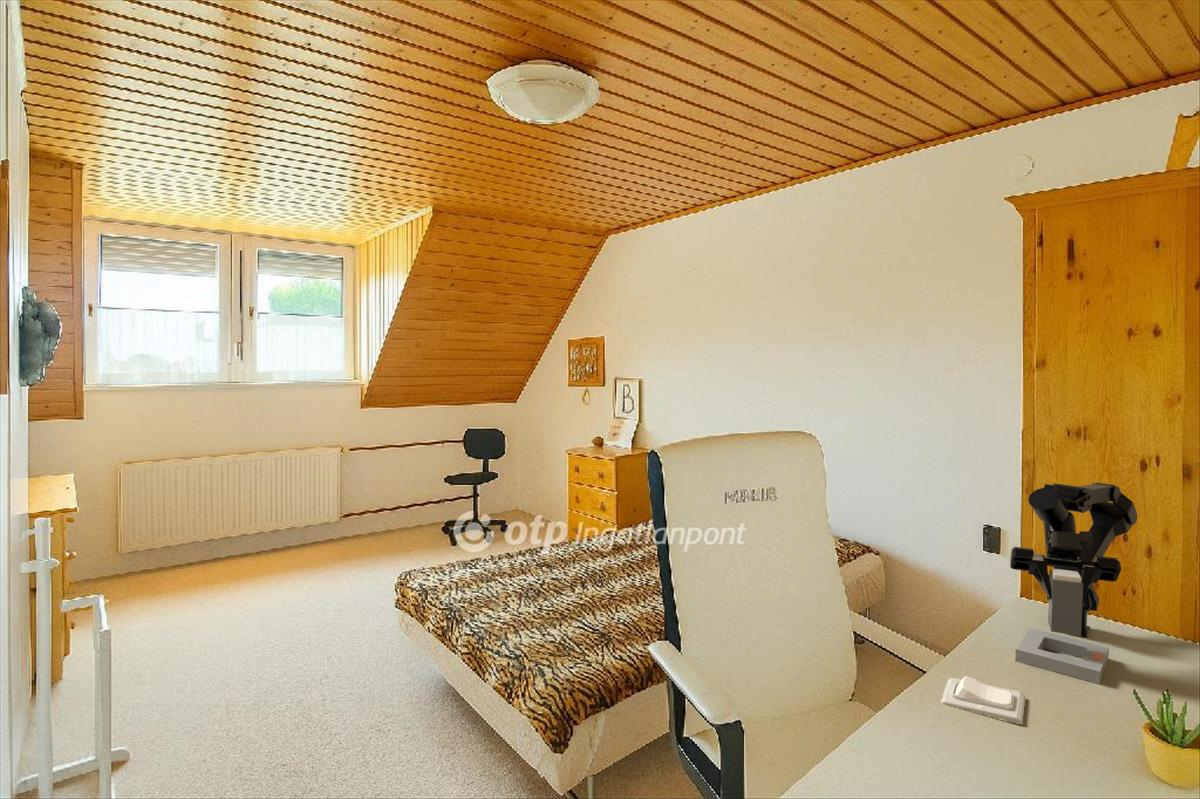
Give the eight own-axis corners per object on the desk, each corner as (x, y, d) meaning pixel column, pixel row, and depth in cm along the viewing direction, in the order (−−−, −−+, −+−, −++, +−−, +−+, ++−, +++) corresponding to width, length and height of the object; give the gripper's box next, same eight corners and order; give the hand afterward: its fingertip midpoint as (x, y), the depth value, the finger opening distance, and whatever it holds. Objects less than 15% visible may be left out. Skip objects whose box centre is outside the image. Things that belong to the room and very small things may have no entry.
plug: (1048, 622, 136) (1050, 567, 135) (1076, 626, 134) (1079, 571, 133) (1051, 631, 132) (1053, 575, 131) (1081, 636, 130) (1083, 578, 129)
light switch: (947, 664, 126) (1024, 679, 119) (948, 685, 127) (1025, 701, 119) (939, 688, 118) (1022, 706, 110) (940, 710, 118) (1022, 729, 110)
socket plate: (1029, 638, 143) (1029, 626, 143) (1108, 658, 134) (1109, 646, 133) (1015, 660, 133) (1015, 647, 133) (1099, 684, 124) (1100, 670, 123)
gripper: (1012, 510, 139) (1015, 575, 130) (1121, 520, 130) (1132, 590, 121) (1008, 536, 147) (1011, 599, 138) (1111, 547, 138) (1120, 615, 129)
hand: (1066, 600), depth 131 cm, fingers closed on plug, 5 cm apart
